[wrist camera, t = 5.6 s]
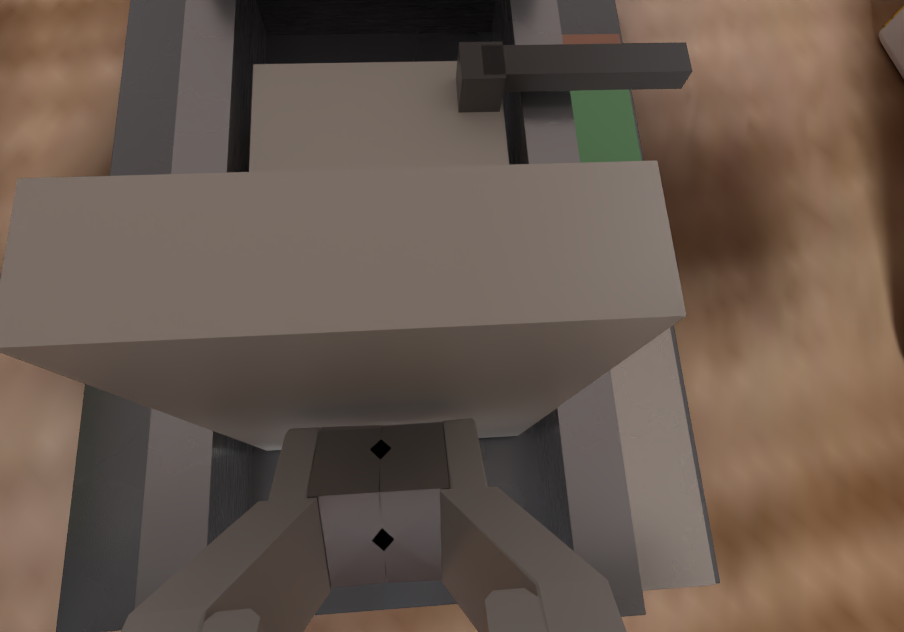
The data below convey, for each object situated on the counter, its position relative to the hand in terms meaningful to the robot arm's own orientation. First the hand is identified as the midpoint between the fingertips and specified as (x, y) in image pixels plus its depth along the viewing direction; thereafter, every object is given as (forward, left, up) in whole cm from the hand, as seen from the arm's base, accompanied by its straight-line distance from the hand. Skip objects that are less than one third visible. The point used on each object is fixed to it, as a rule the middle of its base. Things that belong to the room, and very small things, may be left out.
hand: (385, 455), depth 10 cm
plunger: (+2, +5, -5) cm, 7 cm away
